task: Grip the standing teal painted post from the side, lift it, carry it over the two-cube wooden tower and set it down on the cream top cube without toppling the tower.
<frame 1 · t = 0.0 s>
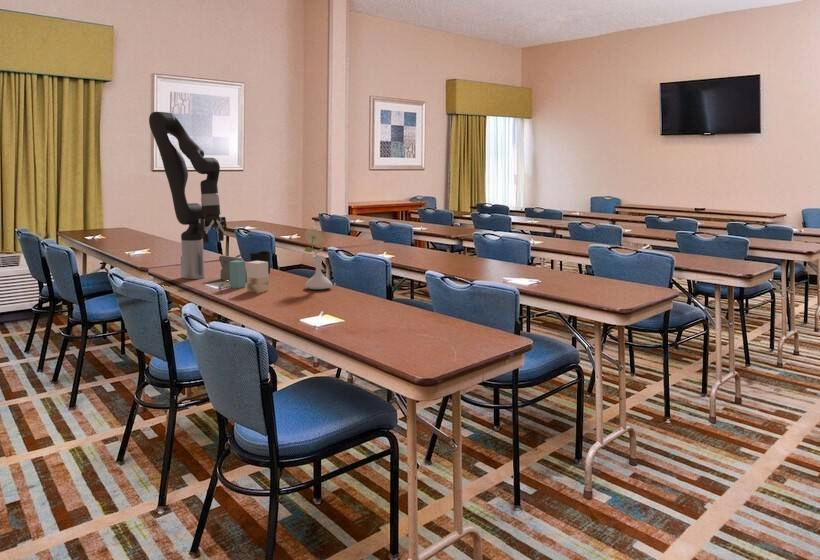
hand: (213, 241, 286), 17 cm above the table, tool pointing down, fingers open, 8 cm apart
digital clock: (234, 280, 291), on the table
teal post: (238, 287, 274), on the table
maple cube: (258, 291, 266), on the table, touching cream cube
flower in vase: (317, 289, 273), on the table
cream cube: (257, 276, 265), point 6 cm above the table, touching maple cube
pen holder: (260, 273, 310), on the table
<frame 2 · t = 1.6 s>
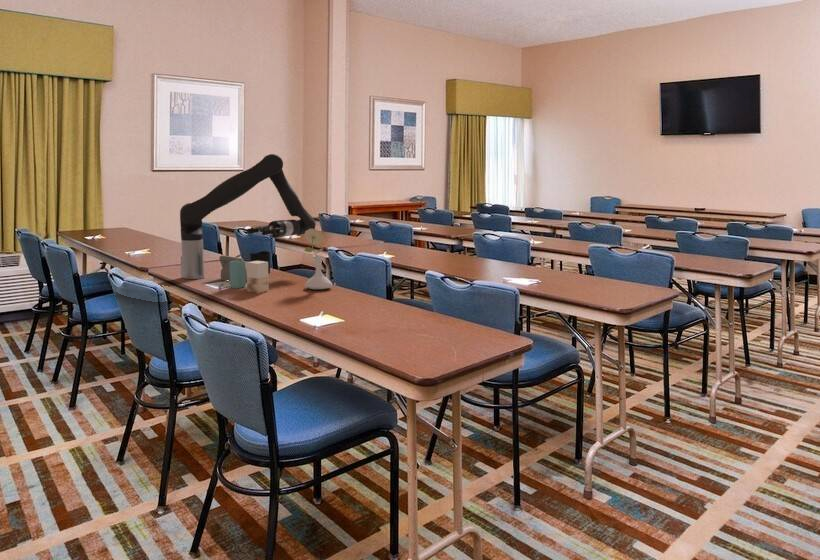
hand: (255, 232, 279), 22 cm above the table, tool horizontal, fingers open, 8 cm apart
nothing on the table moved.
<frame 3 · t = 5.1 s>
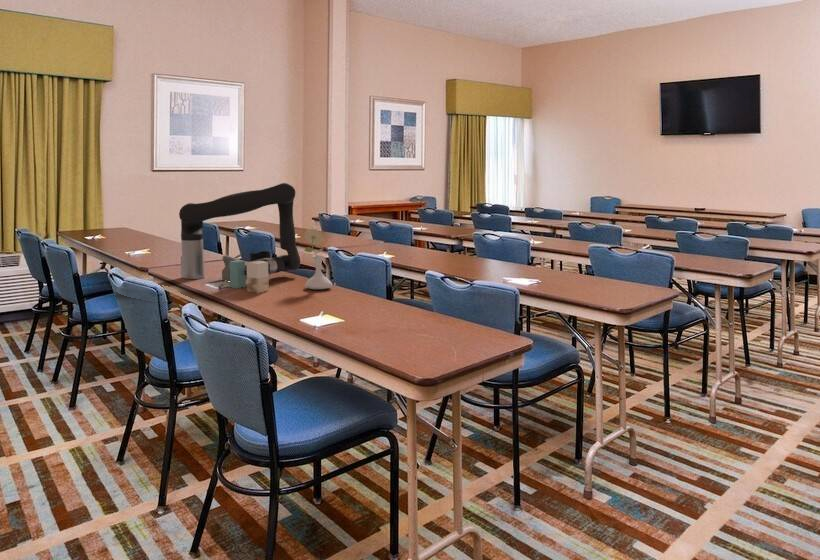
hand: (237, 271, 273), 7 cm above the table, tool horizontal, fingers open, 8 cm apart
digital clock: (234, 280, 290), on the table
everything else where it was.
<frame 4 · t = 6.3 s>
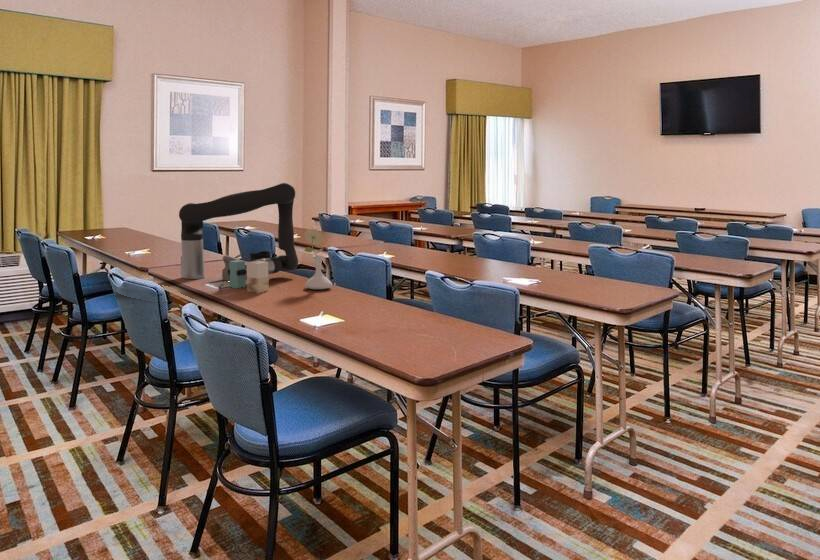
hand: (232, 272, 271), 7 cm above the table, tool horizontal, fingers closed on teal post, 4 cm apart
teal post: (238, 287, 274), on the table, touching gripper
everything else where it was.
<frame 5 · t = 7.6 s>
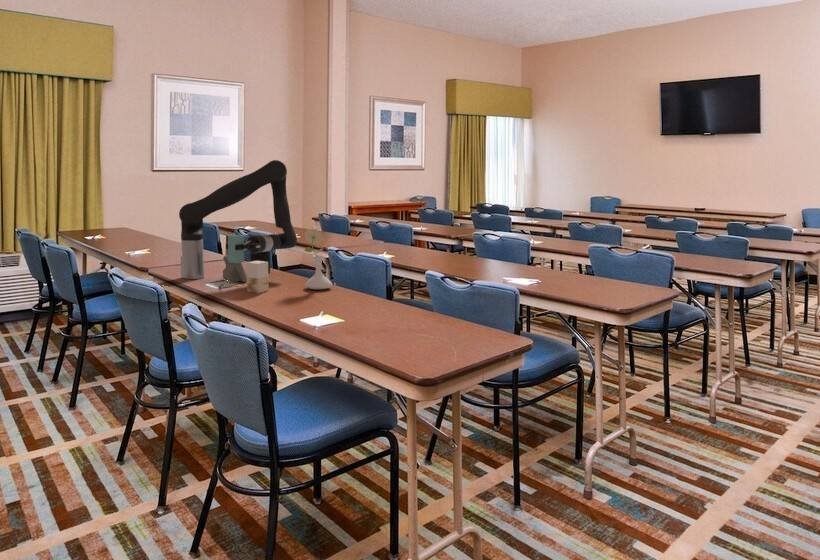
hand: (231, 247, 269), 17 cm above the table, tool horizontal, fingers closed on teal post, 4 cm apart
teal post: (236, 262, 272), point 11 cm above the table, touching gripper
everything else where it was.
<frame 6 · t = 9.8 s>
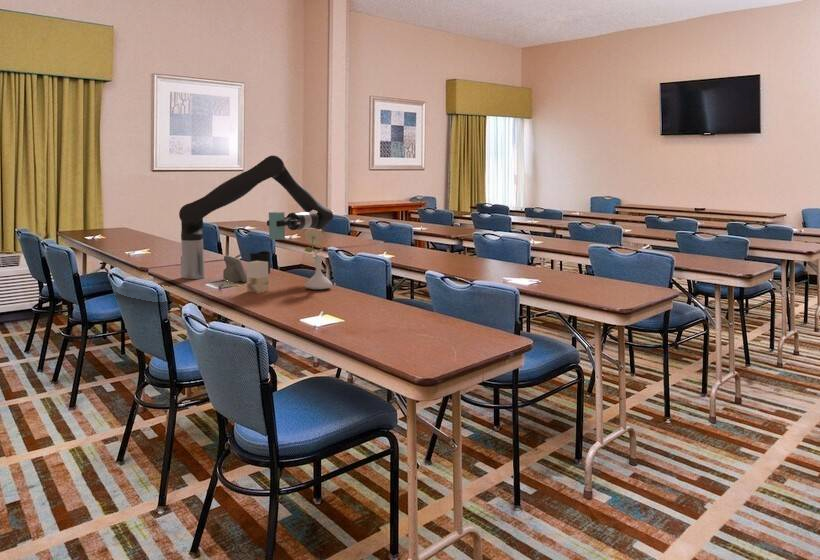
hand: (272, 223, 269), 27 cm above the table, tool horizontal, fingers closed on teal post, 4 cm apart
teal post: (277, 238, 273), point 20 cm above the table, touching gripper
everything else where it was.
when the fingers open (20 cm above the table, at t = 13.2 s): teal post drops 1 cm, resting on cream cube.
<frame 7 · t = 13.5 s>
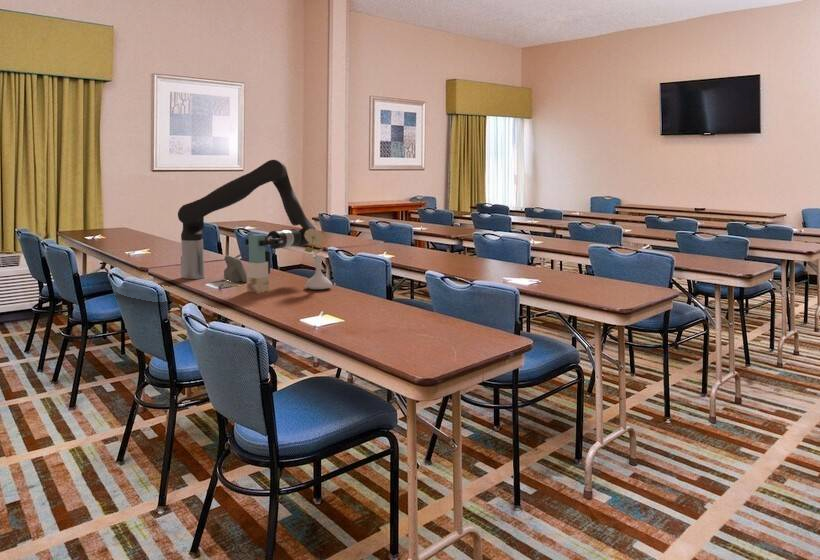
hand: (252, 242, 261), 20 cm above the table, tool horizontal, fingers open, 7 cm apart
teal post: (257, 262, 264), point 12 cm above the table, touching cream cube
cream cube: (257, 276, 265), point 6 cm above the table, touching maple cube, teal post
everything else where it was.
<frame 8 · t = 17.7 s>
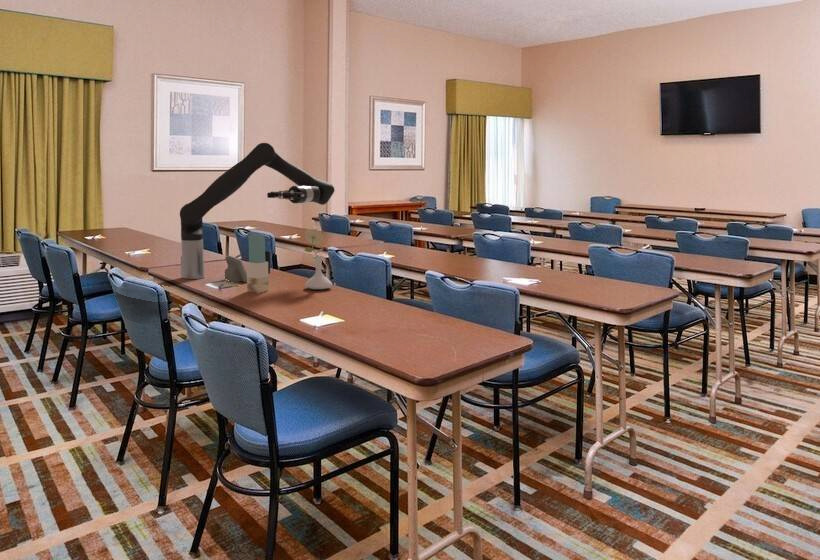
hand: (275, 195, 272), 38 cm above the table, tool horizontal, fingers open, 8 cm apart
at the end: teal post 0.0 cm off-centre on the cream cube, point 6.0 cm above the cream cube's base; teal post tilted 0°; cream cube tilted 0° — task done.
